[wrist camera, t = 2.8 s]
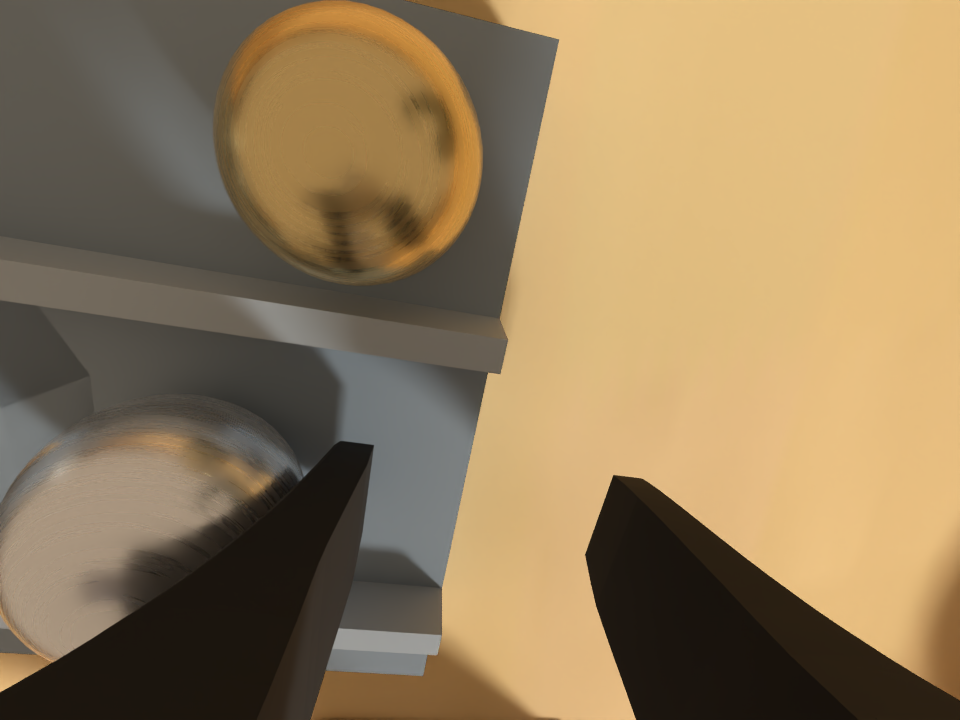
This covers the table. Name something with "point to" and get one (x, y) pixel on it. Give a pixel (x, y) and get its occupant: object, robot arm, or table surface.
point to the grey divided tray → (247, 278)
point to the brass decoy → (347, 143)
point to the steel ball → (130, 511)
